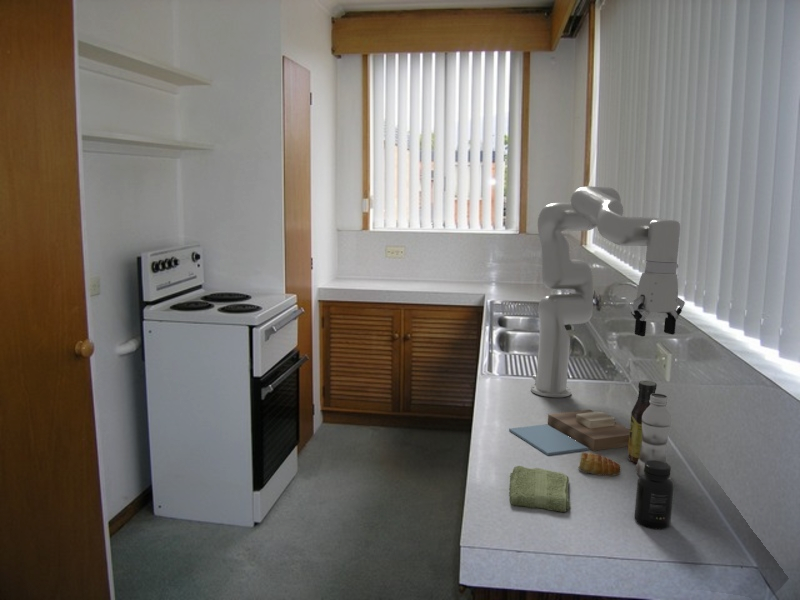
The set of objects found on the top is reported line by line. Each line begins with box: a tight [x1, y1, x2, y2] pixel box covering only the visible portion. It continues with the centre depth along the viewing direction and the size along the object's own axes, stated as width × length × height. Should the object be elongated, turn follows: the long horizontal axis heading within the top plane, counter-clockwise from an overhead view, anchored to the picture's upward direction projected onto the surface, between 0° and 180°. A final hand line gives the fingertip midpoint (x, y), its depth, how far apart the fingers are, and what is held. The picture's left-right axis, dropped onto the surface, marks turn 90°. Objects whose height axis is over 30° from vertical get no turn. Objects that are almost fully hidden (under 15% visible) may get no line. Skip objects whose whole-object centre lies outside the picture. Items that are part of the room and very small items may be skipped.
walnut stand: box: [547, 409, 630, 452], centre depth 189 cm, size 20×14×3 cm
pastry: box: [578, 452, 622, 477], centre depth 165 cm, size 9×7×4 cm
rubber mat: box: [508, 423, 589, 456], centre depth 184 cm, size 18×12×1 cm, turn 23°
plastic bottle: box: [635, 392, 673, 478], centre depth 159 cm, size 6×7×20 cm
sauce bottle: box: [627, 379, 658, 464], centre depth 170 cm, size 6×6×20 cm
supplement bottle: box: [633, 460, 675, 530], centre depth 140 cm, size 7×7×12 cm
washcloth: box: [508, 465, 571, 513], centre depth 152 cm, size 13×18×3 cm
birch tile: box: [576, 410, 616, 428], centre depth 189 cm, size 6×8×2 cm
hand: (654, 334), depth 182 cm, fingers open, 9 cm apart
